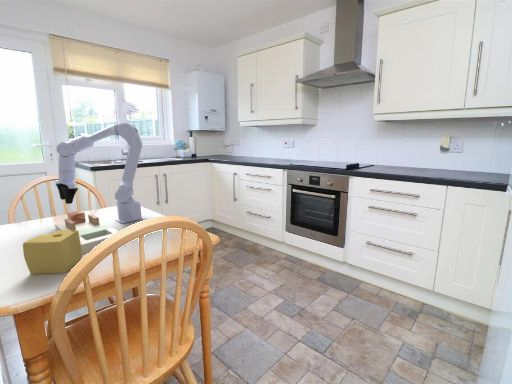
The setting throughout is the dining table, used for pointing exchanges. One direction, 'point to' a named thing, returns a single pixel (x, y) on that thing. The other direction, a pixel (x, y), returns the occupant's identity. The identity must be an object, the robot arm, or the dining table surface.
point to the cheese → (52, 252)
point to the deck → (88, 231)
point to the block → (77, 217)
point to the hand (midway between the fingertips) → (66, 201)
